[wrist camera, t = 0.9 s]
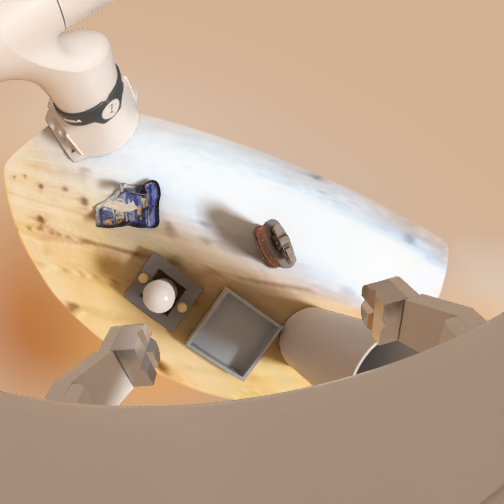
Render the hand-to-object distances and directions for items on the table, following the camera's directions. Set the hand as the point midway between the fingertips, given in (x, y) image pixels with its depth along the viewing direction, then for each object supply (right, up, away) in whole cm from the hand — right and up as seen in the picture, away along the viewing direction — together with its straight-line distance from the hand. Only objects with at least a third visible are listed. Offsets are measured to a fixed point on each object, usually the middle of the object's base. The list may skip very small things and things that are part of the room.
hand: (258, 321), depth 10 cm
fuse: (-15, -4, +37) cm, 40 cm away
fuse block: (-15, -4, +37) cm, 40 cm away
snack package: (-21, +10, +37) cm, 44 cm away
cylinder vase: (+11, -14, +42) cm, 46 cm away
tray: (-4, -12, +39) cm, 41 cm away
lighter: (+2, +3, +41) cm, 41 cm away
